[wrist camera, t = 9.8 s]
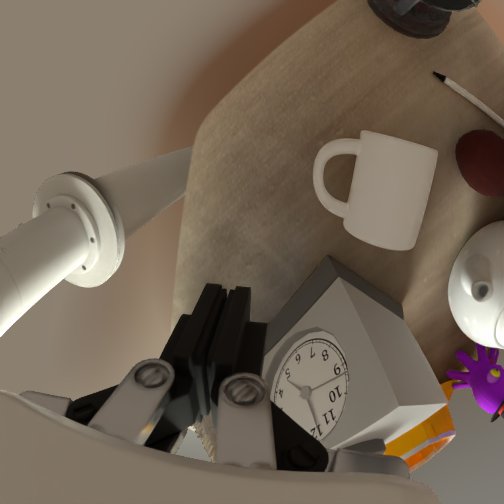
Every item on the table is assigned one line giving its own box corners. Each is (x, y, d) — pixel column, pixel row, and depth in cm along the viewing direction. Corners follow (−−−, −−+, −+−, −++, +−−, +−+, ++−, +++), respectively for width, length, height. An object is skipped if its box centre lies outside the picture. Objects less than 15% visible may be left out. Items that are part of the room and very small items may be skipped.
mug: (420, 145, 28) (452, 155, 20) (401, 227, 32) (425, 257, 25) (317, 121, 29) (324, 120, 21) (303, 209, 33) (304, 235, 26)
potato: (455, 114, 25) (483, 116, 19) (510, 152, 25) (538, 161, 19) (437, 170, 28) (462, 181, 23) (493, 202, 28) (519, 218, 22)
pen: (531, 155, 24) (536, 156, 23) (429, 74, 24) (433, 73, 23) (533, 150, 23) (537, 151, 22) (431, 68, 23) (435, 67, 22)
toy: (504, 334, 36) (548, 382, 22) (479, 383, 39) (511, 435, 25) (464, 334, 37) (509, 392, 22) (437, 386, 40) (468, 448, 26)
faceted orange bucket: (494, 391, 29) (442, 334, 43) (348, 485, 30) (316, 408, 44) (479, 424, 35) (440, 374, 49) (360, 498, 36) (333, 436, 50)
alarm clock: (327, 254, 35) (347, 393, 16) (412, 313, 36) (459, 435, 18) (241, 354, 43) (209, 473, 25) (321, 393, 45) (319, 502, 27)
